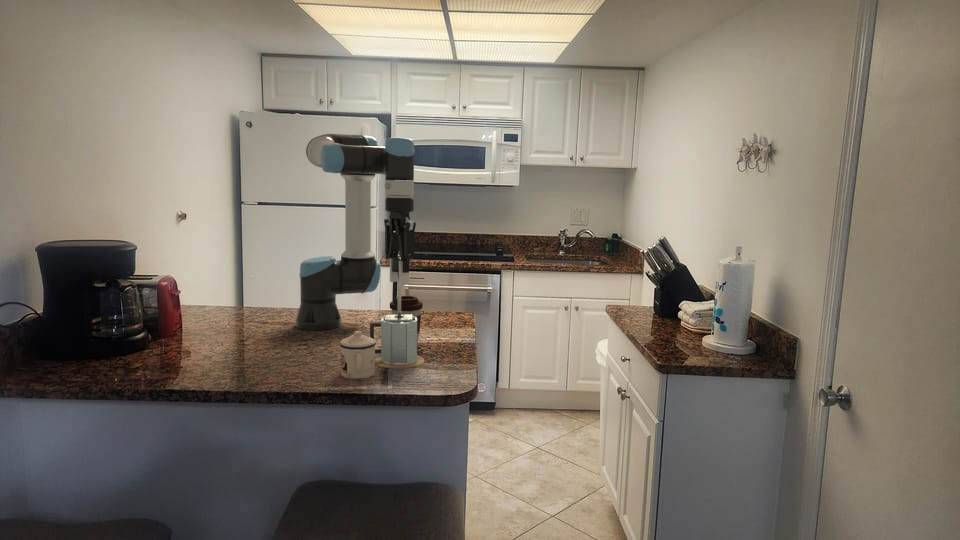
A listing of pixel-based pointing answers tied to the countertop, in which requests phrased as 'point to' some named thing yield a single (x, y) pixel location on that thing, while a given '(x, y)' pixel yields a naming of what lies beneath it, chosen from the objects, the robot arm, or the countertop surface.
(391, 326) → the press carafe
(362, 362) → the teacup with lid
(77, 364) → the countertop surface
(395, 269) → the plunger
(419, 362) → the cork trivet
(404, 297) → the coffee cup
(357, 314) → the countertop surface
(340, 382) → the countertop surface
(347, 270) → the robot arm
